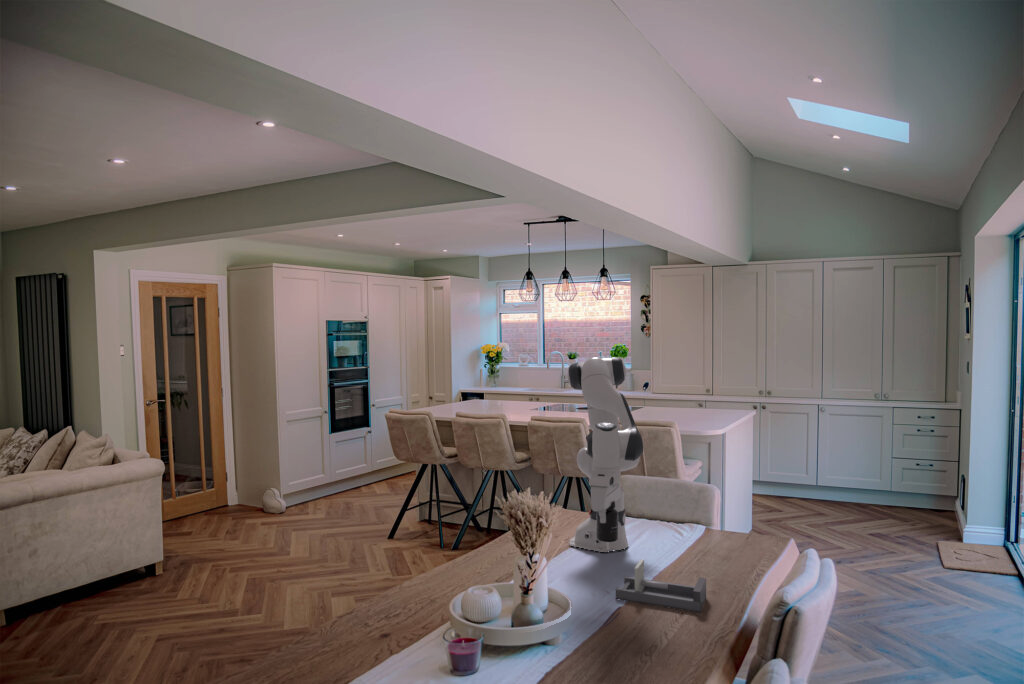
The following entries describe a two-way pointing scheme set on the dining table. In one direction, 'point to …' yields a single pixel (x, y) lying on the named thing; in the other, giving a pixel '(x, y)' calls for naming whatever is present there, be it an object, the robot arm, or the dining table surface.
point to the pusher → (641, 582)
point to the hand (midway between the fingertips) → (607, 519)
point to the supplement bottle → (608, 525)
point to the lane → (666, 595)
